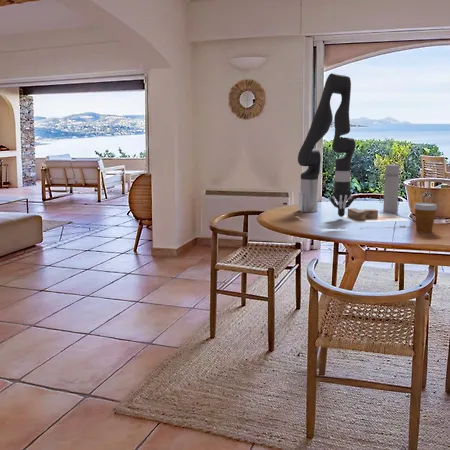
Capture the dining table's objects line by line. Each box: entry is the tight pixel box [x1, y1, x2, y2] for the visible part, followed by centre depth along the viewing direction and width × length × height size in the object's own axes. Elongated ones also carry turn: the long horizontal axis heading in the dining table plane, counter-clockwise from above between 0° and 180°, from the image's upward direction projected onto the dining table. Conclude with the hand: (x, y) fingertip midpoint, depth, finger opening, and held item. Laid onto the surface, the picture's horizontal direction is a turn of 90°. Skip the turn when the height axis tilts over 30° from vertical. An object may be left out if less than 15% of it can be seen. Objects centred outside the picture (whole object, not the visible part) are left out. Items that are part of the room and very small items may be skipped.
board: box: [342, 213, 411, 224], centre depth 266 cm, size 28×20×1 cm
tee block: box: [347, 207, 379, 221], centre depth 265 cm, size 12×12×4 cm
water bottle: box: [379, 164, 401, 214], centre depth 287 cm, size 9×8×25 cm
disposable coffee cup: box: [413, 202, 438, 234], centre depth 239 cm, size 10×10×12 cm
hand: (341, 216), depth 263 cm, fingers closed
